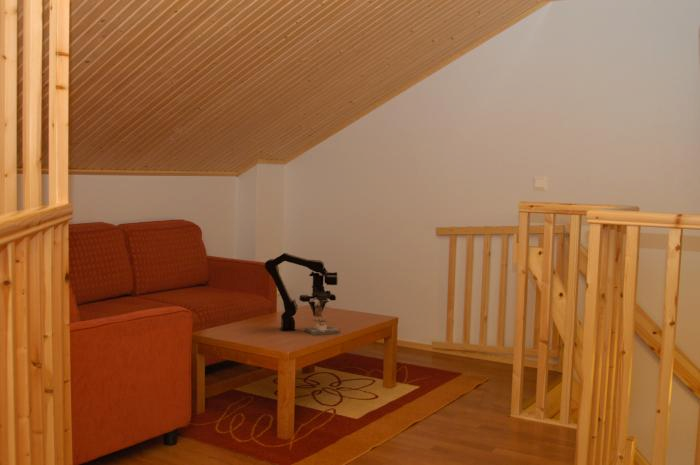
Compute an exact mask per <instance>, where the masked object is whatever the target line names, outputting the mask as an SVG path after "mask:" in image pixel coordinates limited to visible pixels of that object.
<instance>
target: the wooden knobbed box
mask: <svg viewBox="0 0 700 465" xmlns="http://www.w3.org/2000/svg"><path fill="white" fill-rule="evenodd" d="M312 316H313V317H314V318H318V317H319V318H321V317H322V318H323V312H322V307H321V306H318V305H317V306H315V314H313V313H312Z"/></svg>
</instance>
